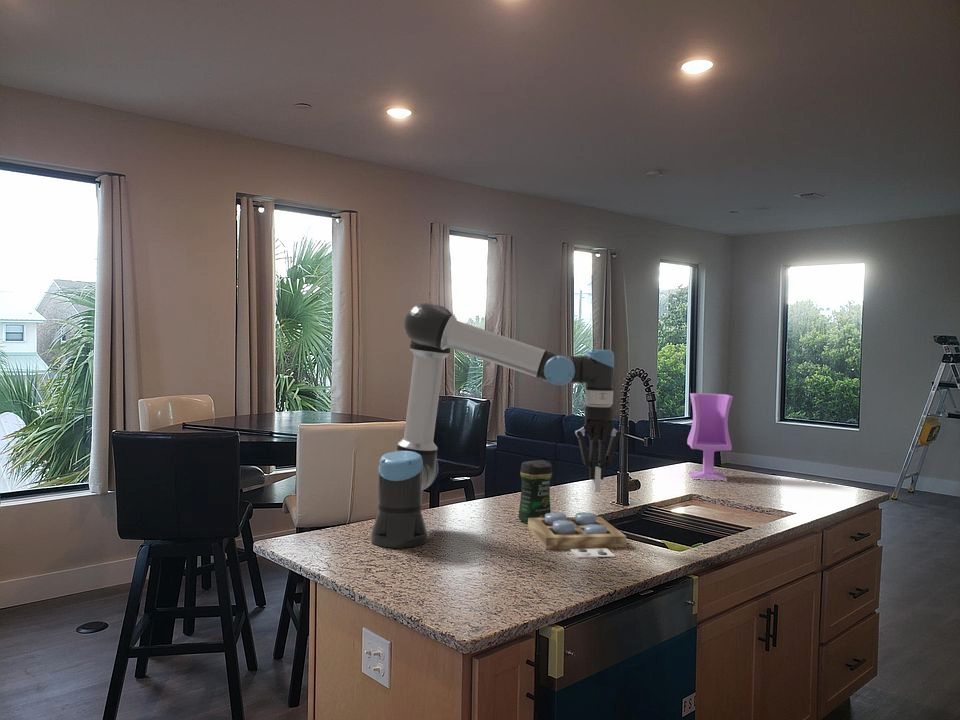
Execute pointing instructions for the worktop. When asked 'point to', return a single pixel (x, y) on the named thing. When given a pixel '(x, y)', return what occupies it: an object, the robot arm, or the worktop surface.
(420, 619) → the worktop surface
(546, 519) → the button
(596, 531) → the button
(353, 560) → the worktop surface
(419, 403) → the robot arm
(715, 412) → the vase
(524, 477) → the coffee jar
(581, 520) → the button
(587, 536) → the board
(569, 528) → the button
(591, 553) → the card
